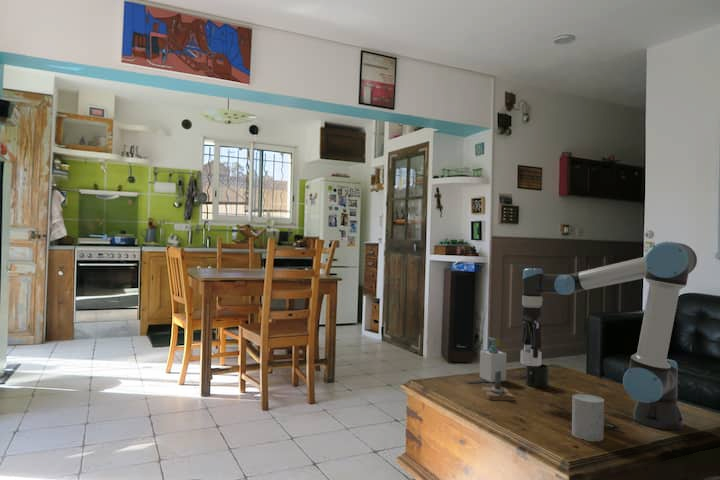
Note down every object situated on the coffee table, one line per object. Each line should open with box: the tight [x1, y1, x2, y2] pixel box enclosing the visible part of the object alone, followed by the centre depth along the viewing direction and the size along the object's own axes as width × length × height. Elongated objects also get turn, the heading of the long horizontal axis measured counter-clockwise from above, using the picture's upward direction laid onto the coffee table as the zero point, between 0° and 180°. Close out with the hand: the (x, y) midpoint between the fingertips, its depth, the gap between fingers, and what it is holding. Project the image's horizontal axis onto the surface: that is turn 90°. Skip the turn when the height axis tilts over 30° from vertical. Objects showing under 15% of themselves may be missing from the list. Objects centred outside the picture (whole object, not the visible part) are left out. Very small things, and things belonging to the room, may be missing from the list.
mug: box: [525, 363, 550, 389], centre depth 211 cm, size 9×12×9 cm
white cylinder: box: [571, 392, 605, 442], centre depth 153 cm, size 10×10×12 cm
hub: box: [519, 348, 543, 366], centre depth 189 cm, size 7×7×5 cm
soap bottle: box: [479, 336, 507, 383], centre depth 220 cm, size 9×9×19 cm
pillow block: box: [481, 371, 515, 401], centre depth 194 cm, size 12×10×10 cm
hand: (530, 363), depth 189 cm, fingers closed on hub, 7 cm apart
